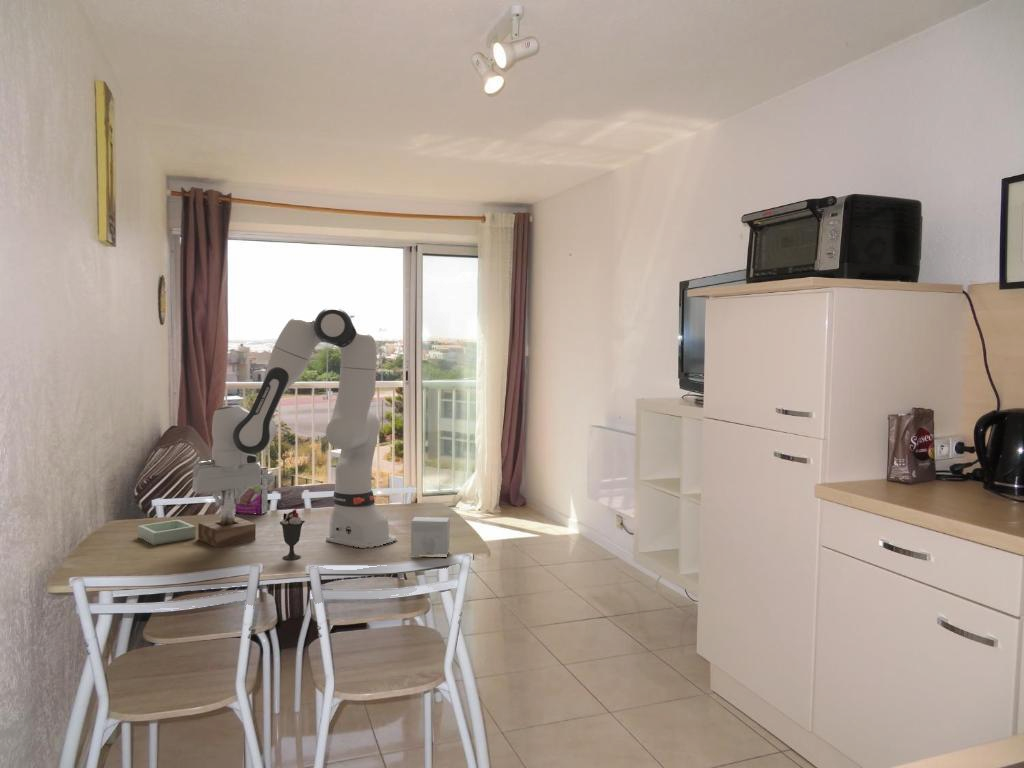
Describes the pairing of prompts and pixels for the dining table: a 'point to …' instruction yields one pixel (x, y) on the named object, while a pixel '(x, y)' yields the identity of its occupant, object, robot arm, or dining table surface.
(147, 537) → the tray
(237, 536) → the socket block
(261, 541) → the dining table surface
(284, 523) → the sundae
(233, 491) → the steel pin
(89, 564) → the dining table surface
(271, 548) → the dining table surface
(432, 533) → the skincare box
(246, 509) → the candy bar box
